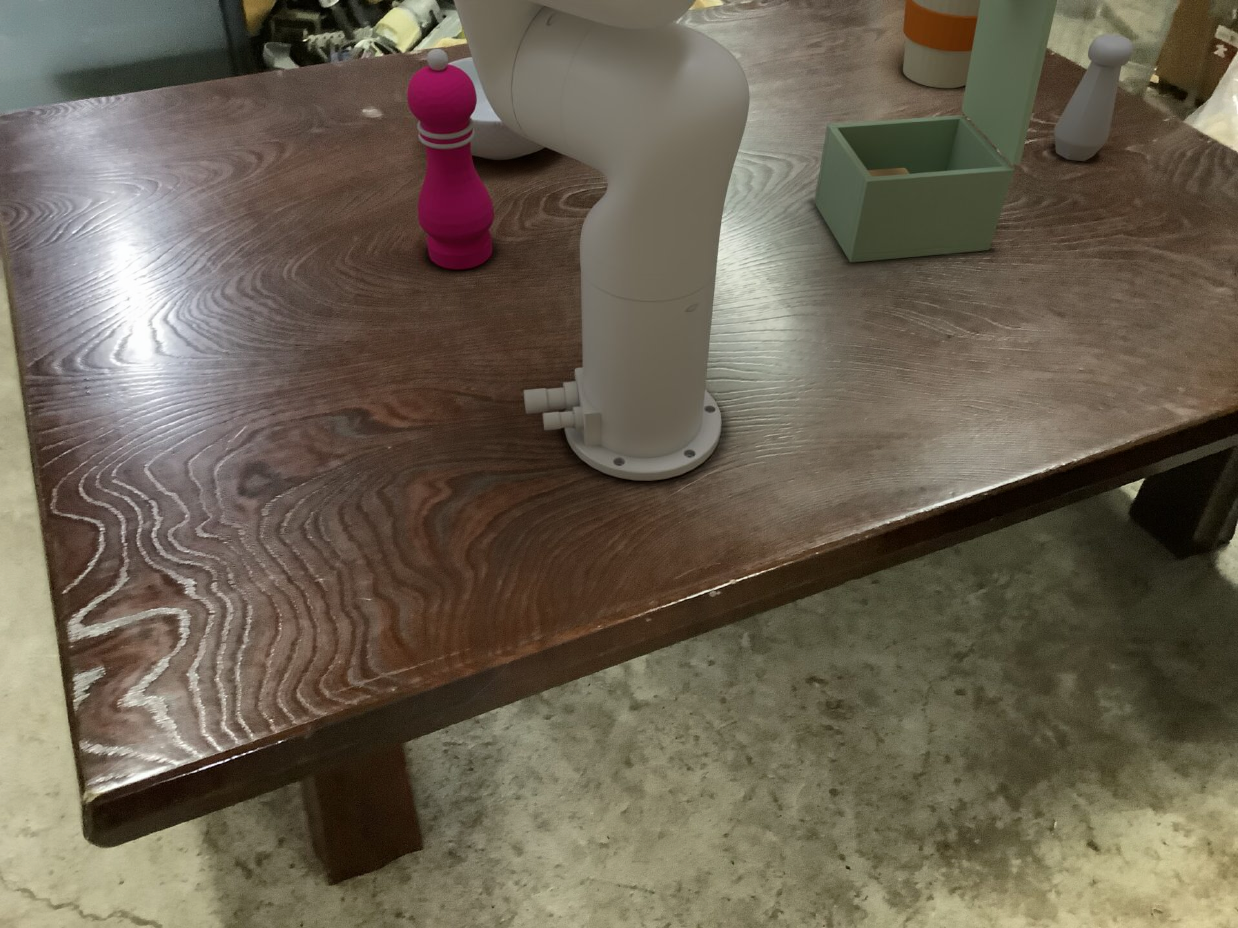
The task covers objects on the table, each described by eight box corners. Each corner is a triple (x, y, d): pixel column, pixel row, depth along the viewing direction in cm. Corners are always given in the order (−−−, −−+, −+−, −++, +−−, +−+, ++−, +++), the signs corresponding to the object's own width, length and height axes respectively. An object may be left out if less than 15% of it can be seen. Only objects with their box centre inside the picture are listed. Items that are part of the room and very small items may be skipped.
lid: (1050, -6, 81) (1059, -7, 81) (989, -52, 89) (997, -53, 89) (1012, 166, 92) (1020, 164, 92) (961, 111, 100) (968, 109, 100)
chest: (850, 263, 96) (867, 181, 90) (813, 203, 104) (827, 124, 98) (989, 250, 98) (1015, 169, 92) (942, 192, 106) (963, 114, 100)
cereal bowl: (408, 172, 108) (398, 110, 103) (452, 106, 120) (446, 48, 115) (557, 187, 106) (555, 125, 101) (588, 119, 118) (587, 60, 113)
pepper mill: (444, 281, 93) (415, 74, 79) (411, 246, 98) (379, 44, 84) (510, 258, 96) (494, 55, 82) (476, 225, 101) (455, 26, 86)
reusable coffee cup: (950, 103, 122) (983, -25, 111) (869, 71, 128) (893, -52, 118) (1005, 75, 128) (1042, -48, 117) (925, 46, 135) (953, -73, 124)
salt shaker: (1103, 167, 111) (1148, 52, 101) (1050, 162, 111) (1090, 47, 102) (1096, 143, 115) (1138, 30, 106) (1045, 138, 116) (1083, 26, 106)
